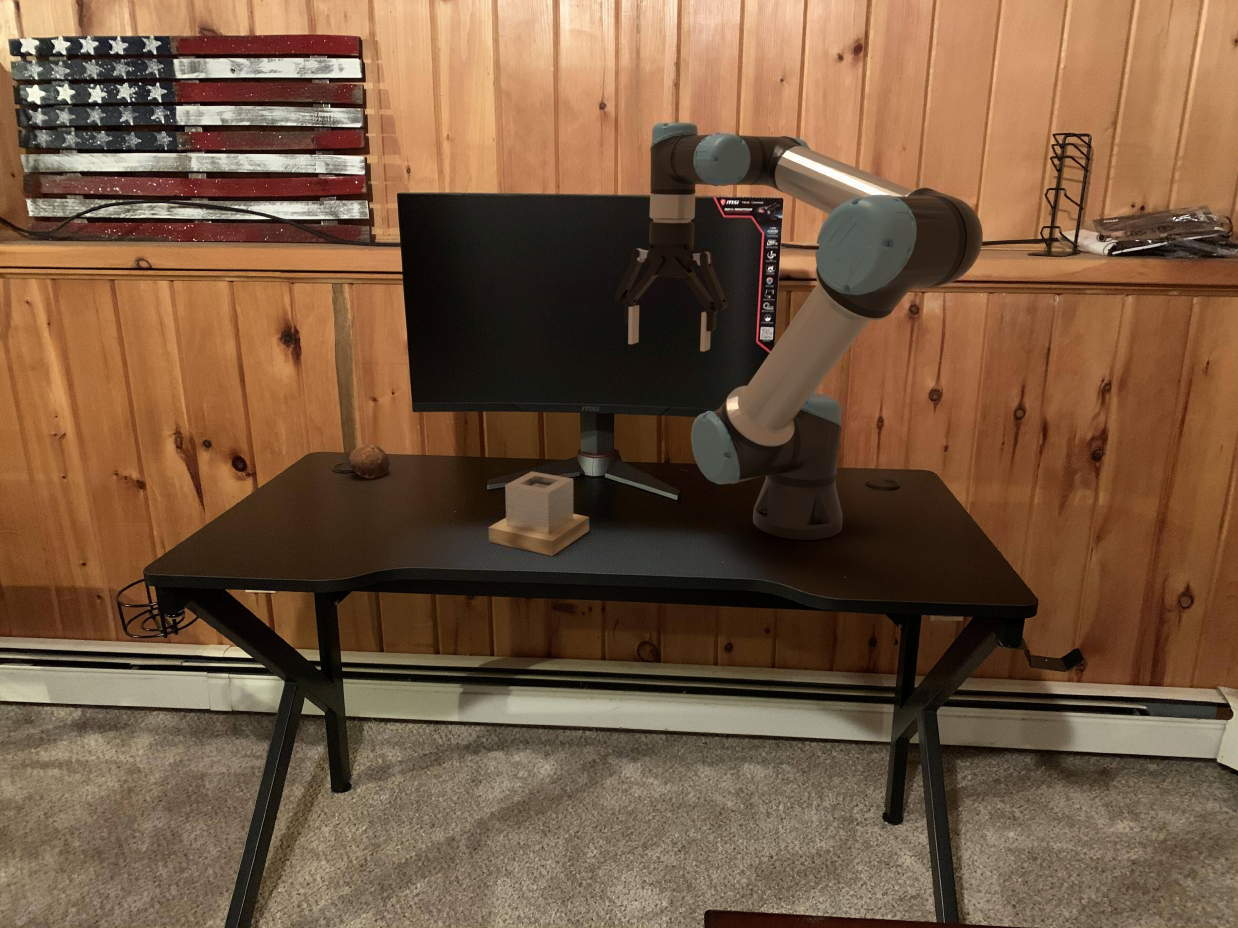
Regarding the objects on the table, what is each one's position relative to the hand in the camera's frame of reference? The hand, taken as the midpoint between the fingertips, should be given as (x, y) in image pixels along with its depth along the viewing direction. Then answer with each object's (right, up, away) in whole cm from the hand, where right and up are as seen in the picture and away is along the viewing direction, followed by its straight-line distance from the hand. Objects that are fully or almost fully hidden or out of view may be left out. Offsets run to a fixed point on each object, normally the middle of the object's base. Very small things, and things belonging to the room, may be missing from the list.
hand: (668, 346), depth 161 cm
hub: (-22, -30, -9) cm, 38 cm away
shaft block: (-22, -32, -8) cm, 40 cm away
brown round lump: (-58, -23, +21) cm, 66 cm away
